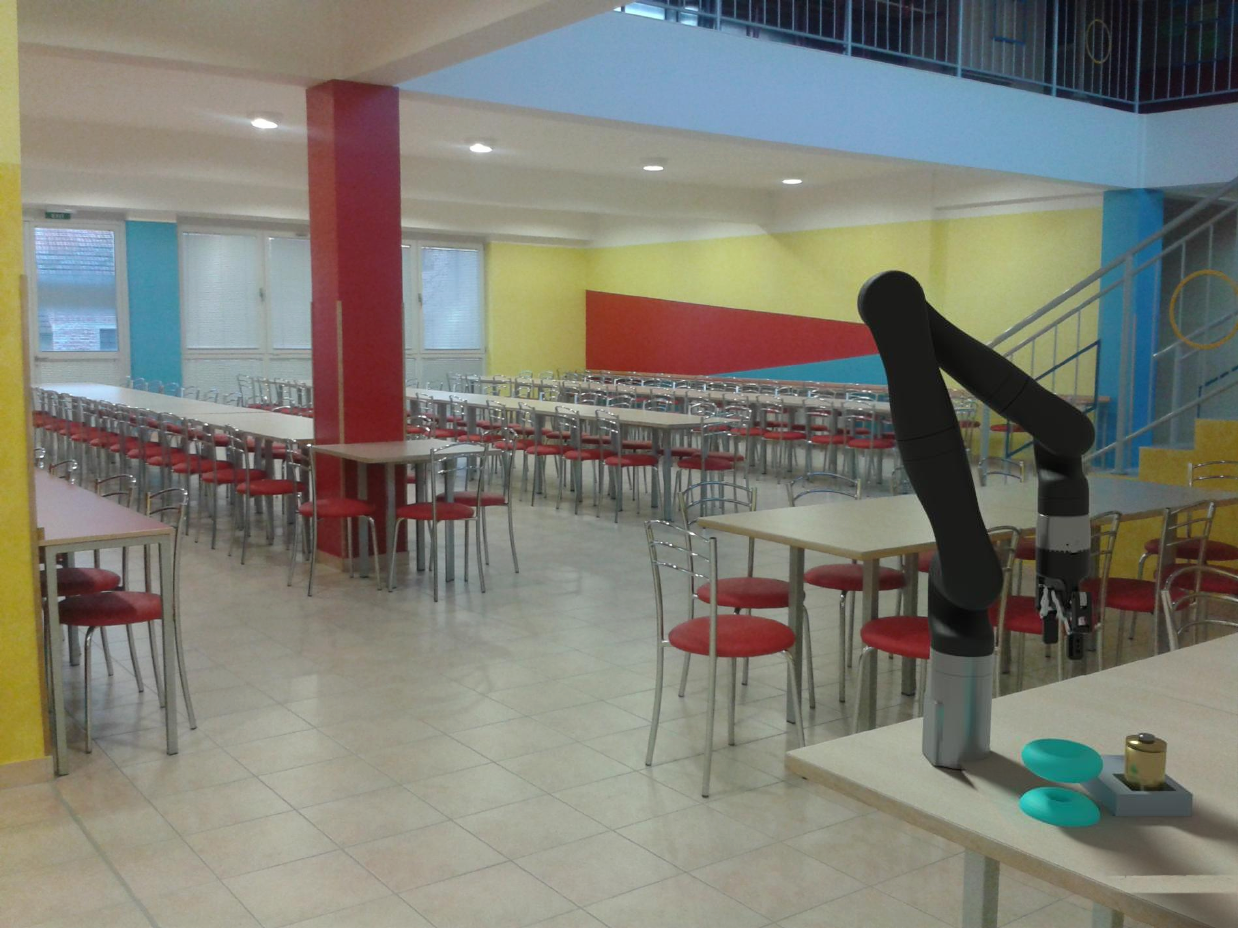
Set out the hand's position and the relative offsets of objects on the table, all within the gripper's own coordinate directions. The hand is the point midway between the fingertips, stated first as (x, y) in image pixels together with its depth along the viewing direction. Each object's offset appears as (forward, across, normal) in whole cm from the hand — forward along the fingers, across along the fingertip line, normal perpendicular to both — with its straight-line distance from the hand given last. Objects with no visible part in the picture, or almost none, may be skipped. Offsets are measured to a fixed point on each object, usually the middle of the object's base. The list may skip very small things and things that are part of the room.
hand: (1062, 650), depth 164 cm
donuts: (+18, +19, -9) cm, 28 cm away
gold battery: (+16, +17, +4) cm, 24 cm away
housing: (+18, +14, +3) cm, 23 cm away
